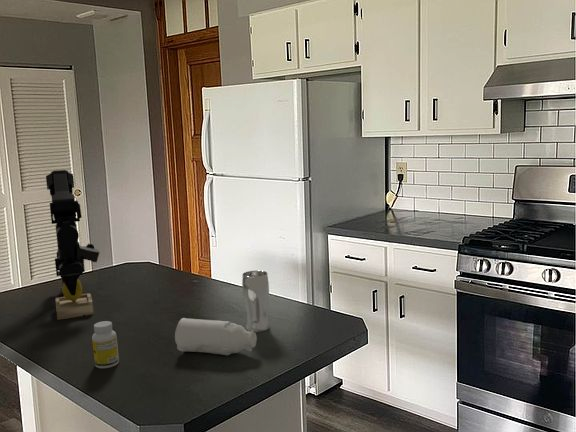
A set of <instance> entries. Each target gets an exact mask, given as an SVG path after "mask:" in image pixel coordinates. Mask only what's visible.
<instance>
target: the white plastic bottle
mask: <svg viewBox="0 0 576 432" xmlns="http://www.w3.org/2000/svg"><path fill="white" fill-rule="evenodd" d="M257 339H258V337H257V332H254V331H253V330H252V331H251V332H250V331H248V330H247V329H246V328H245V327H244V326H243V325H240V324H236V323H235V322H231V321H226V320H213V319H201V318H200V319H197V318H186V317H182V318H180V320H178V323H177V325H176V328H175V332H174V340H175V344H176V349H177V350H178V351H180V352H184V353H185V352H191V353H192V352H194V353H195V352H196V353H208V354H214V355H223V356H230V355H231V354H239V353H241V352H242V351H244V350H246V351H249V352H252V351H253V348H255V347H256V346H257Z"/></svg>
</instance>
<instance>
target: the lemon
mask: <svg viewBox="0 0 576 432" xmlns="http://www.w3.org/2000/svg"><path fill="white" fill-rule="evenodd" d="M61 288H62V287H61ZM62 290H63V294H62V295H63V297H65V298H66V299H68V300H71V301H72V302H76V300H77V299H79V298H80V296H81V295H82V294H83V285H82V283H81V281H80V279H79V280H78V279H77V287H76V294H75V295H71V294H70V292H69V290H68V288H67V287H66V285H65V283H63V288H62Z"/></svg>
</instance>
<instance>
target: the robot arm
mask: <svg viewBox="0 0 576 432" xmlns="http://www.w3.org/2000/svg"><path fill="white" fill-rule="evenodd" d="M45 180H46V183H45V184H46V189H47V190H48V191H49V195H50V197H51V202H49V210H50V212H49V213H50V219H51V225H55V232H56V233H55V234H56V243H57V250H56V257H55V258H54V266H55V272H56V277H60V280H61V288H60V292H61V295H63V290H62V288H63V283H65V285H66V287H67V288H68V290H69V292H70V294H71V295H75V294H76V287H77V279H78V280H79V281H80V277H81V276H82V275H83V273H85V272H86V271H85V260H86V261H90V262H92V263H97V262H98V260H99V257H100V250H99V249H98V248H95V245H94V244H92V243H87V244H86V246H82V245H80V241H79V236H80V235H79V231H78V229H77V227H78V226H77V222H80V221H81V220H80V219H82V210H81V204H80V203H79V201H78V200H76V199H75V198H76V197H75V194H74V193H73V192H74V191H73V189H74V188H75V179H74V173H71V172H69V171H68V170H67V169H59V170H58V169H57V170H52V171H51V172H50V173H49V174H47V175H45Z"/></svg>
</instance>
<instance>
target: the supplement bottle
mask: <svg viewBox="0 0 576 432" xmlns="http://www.w3.org/2000/svg"><path fill="white" fill-rule="evenodd" d="M93 331H94V332H93V334H92V336H91V343H92V351H93V358H94V360H93V361H94V366H95V367H96V368H98V369H109V368H113V367H115V366H117V365H118V364H119V362H120V356H119V355H120V354H119V348H118V346H119V345H118V337H117V333H116V331H114V330H113V322H112V321H108V320H105V321H98V322H96V323H94V325H93Z"/></svg>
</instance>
